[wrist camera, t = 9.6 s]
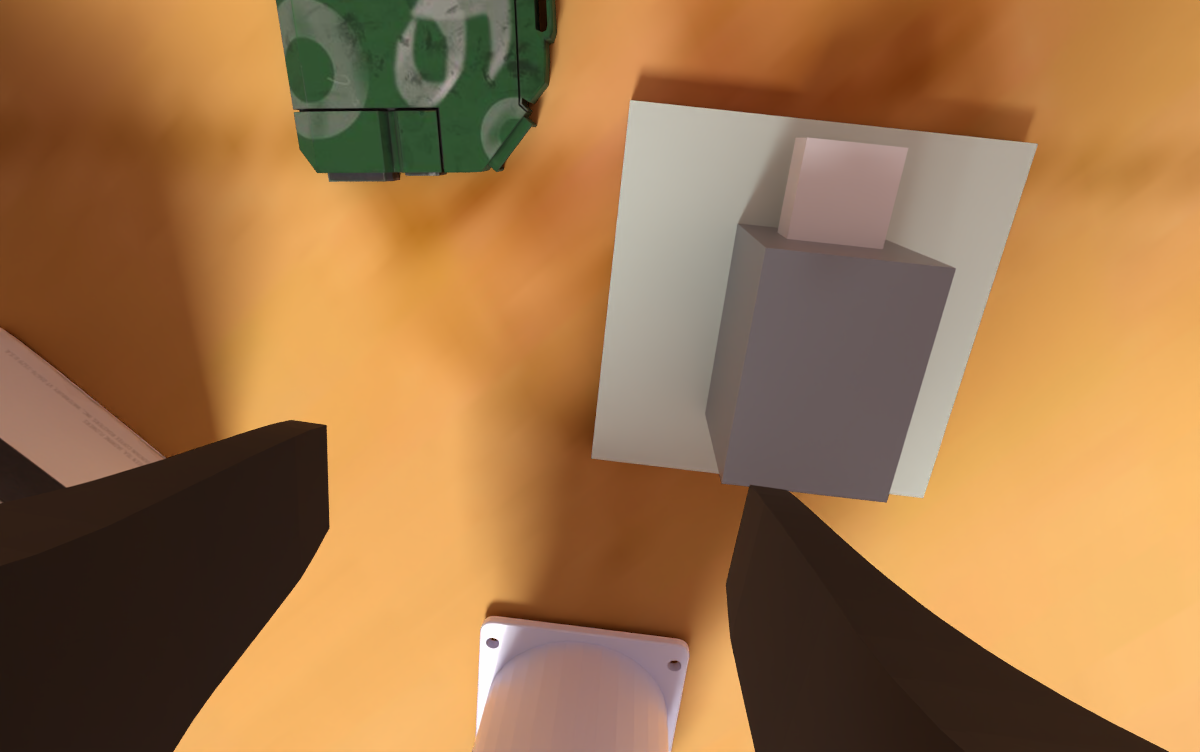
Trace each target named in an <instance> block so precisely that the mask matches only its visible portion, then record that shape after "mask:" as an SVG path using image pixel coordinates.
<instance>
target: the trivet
mask: <svg viewBox="0 0 1200 752" xmlns="http://www.w3.org/2000/svg"><path fill="white" fill-rule="evenodd" d="M800 137H808V138H818V139H828V140H837V141H847V142H857V143H866V144H876V145H885V146H895V147H905V148H908V152H907V156H906V160H905V164H904V168H903V172H902V176H901V180H900V183H899V187H898V191H897V195H896V199H895V203H894V207H893V211H892V215H891V219H890V223H889V227H888V231H887V235H886V239H885V240H888V241H890V242H893V243H895V244H898V245H900V246H903V247H905V248H907V249H910V250H912V251H915V252H917V253H920V254H922V255H925V256H927V257H930V258H932V259H935V260H937V261H940V262H942V263H945V264H947V265H949V266H952V267H954V268H956V270H955V274H954V277H953V281H952V284H951V287H950V291H949V294H948V297H947V301H946V304H945V307H944V311H943V314H942V318H941V321H940V324H939V328H938V331H937V334H936V338H935V341H934V345H933V348H932V351H931V355H930V358H929V361H928V365H927V368H926V372H925V375H924V378H923V382H922V385H921V388H920V392H919V395H918V398H917V402H916V405H915V409H914V412H913V415H912V419H911V422H910V425H909V429H908V432H907V436H906V439H905V442H904V446H903V449H902V452H901V456H900V459H899V463H898V466H897V469H896V473H895V476H894V479H893V483H892V486H891V489H890V493H889V494H894V495H902V496H911V497H919V498H923V497H924V494H925V491H926V488H927V485H928V482H929V479H930V476H931V473H932V470H933V466H934V463H935V460H936V457H937V454H938V451H939V448H940V445H941V442H942V439H943V436H944V432H945V429H946V426H947V423H948V420H949V417H950V414H951V411H952V408H953V405H954V402H955V398H956V395H957V392H958V389H959V386H960V383H961V380H962V377H963V374H964V371H965V368H966V365H967V361H968V358H969V355H970V352H971V349H972V346H973V343H974V340H975V337H976V334H977V331H978V327H979V324H980V321H981V318H982V315H983V312H984V309H985V306H986V303H987V300H988V297H989V293H990V290H991V287H992V284H993V281H994V278H995V275H996V272H997V269H998V266H999V263H1000V260H1001V256H1002V253H1003V250H1004V247H1005V244H1006V241H1007V238H1008V235H1009V232H1010V229H1011V226H1012V222H1013V219H1014V216H1015V213H1016V210H1017V207H1018V204H1019V201H1020V198H1021V195H1022V192H1023V188H1024V185H1025V182H1026V179H1027V176H1028V173H1029V170H1030V167H1031V164H1032V161H1033V158H1034V154H1035V151H1036V148H1037V145H1038V144H1035V143H1026V142H1017V141H1007V140H998V139H989V138H979V137H970V136H961V135H951V134H942V133H933V132H923V131H914V130H905V129H895V128H886V127H877V126H867V125H858V124H849V123H839V122H830V121H821V120H811V119H802V118H793V117H783V116H774V115H765V114H755V113H746V112H737V111H727V110H718V109H709V108H699V107H690V106H681V105H671V104H662V103H653V102H643V101H634V100H630V106H629V115H628V125H627V134H626V143H625V152H624V161H623V171H622V180H621V189H620V198H619V207H618V217H617V226H616V235H615V244H614V254H613V263H612V272H611V281H610V290H609V300H608V309H607V318H606V327H605V336H604V346H603V355H602V364H601V373H600V383H599V392H598V401H597V410H596V419H595V429H594V438H593V447H592V456H591V459H599V460H608V461H616V462H625V463H633V464H641V465H650V466H658V467H667V468H675V469H684V470H692V471H700V472H709V473H717V474H719V471H718V467H717V462H716V458H715V454H714V450H713V446H712V441H711V437H710V433H709V429H708V424H707V420H706V416H705V411H706V405H707V399H708V394H709V388H710V382H711V376H712V370H713V364H714V358H715V353H716V347H717V341H718V335H719V329H720V323H721V317H722V311H723V306H724V300H725V294H726V288H727V282H728V276H729V270H730V265H731V259H732V253H733V247H734V241H735V235H736V229H737V224H747V225H757V226H766V227H775V228H778V226H779V221H780V216H781V211H782V206H783V201H784V195H785V190H786V185H787V180H788V175H789V169H790V164H791V159H792V154H793V149H794V144H795V138H800Z"/></svg>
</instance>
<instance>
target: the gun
mask: <svg viewBox="0 0 1200 752" xmlns="http://www.w3.org/2000/svg"><path fill="white" fill-rule="evenodd" d="M276 4H277V10H278V17H279V23H280V29H281V35H282V42H283V48H284V54H285V60H286V67H287V73H288V79H289V85H290V92H291V98H292V104H293V109H294V110H299V111H300V112H294V117H295V123H296V129H297V136H298V142H299V148H300V150H301V152H302V153H303V154H304V156H305V157H306V158H307V160H308V161H309V162H310V164H311V165H312V166H313V168H314V169H315V170H316V172H317V173H328V178H329V182H337V181H395V180H400V178H399V172H402V173H405V175H408V176H439V175H445V174H446V172H482V171H487V170H490V168H491V167H492V168H493V169H494V170H495V171H496V172H499V171H503V170H504V168H503V167H501V166H502V165H503V164H504V162H505V161H506V160H507V158H508V157H509V156H510V154H511V153H512V152H513V150H514V149H515V148H516V146H517V145H518V144H519V142H520V141H521V140H522V138H523V137H524V136H525V134H526V133H527V132H528V130H529V129H530V128H531V127H536V126H537V125H536V124H535V123H534V122H533V121H532V120H531V119H530V118H528V117H529V116H530V115H531V112H532V110H531V109H530V108H529V107H528V106H527V101H528V102H530V103H533V104H535V103H536V101H537V100H538V99H539V97H540V96H541V95H542V94H543V92H544V91H545V90H546V88H547V87H548V86H549V71H550V51H549V44H551V43H554V41H555V38H556V33H557V26H556V5H555V0H546V9H547V29H546V30H545V31H544V32H541V31H540V25H539V5H538V0H276Z"/></svg>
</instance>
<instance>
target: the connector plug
mask: <svg viewBox="0 0 1200 752" xmlns="http://www.w3.org/2000/svg"><path fill="white" fill-rule="evenodd" d="M907 152H908V148H905V147H895V146H885V145H876V144H866V143H857V142H847V141H837V140H828V139H818V138H808V137H800V138H795V144H794V149H793V154H792V159H791V164H790V169H789V175H788V180H787V185H786V190H785V195H784V201H783V206H782V211H781V216H780V221H779V226H778V228H775V227H766V226H757V225H747V224H737V229H736V235H735V241H734V247H733V253H732V259H731V265H730V270H729V276H728V282H727V288H726V294H725V300H724V306H723V311H722V317H721V323H720V329H719V335H718V341H717V347H716V353H715V358H714V364H713V370H712V376H711V382H710V388H709V394H708V399H707V405H706V411H705V416H706V420H707V424H708V429H709V433H710V437H711V441H712V446H713V450H714V454H715V458H716V462H717V467H718V471H719V475H720V479H721V483H722V484H731V485H739V486H748V487H749V486H750V485H756V486H763V487H770V488H777V489H784V490H787V491H791V492H800V493H809V494H817V495H826V496H834V497H843V498H852V499H860V500H869V501H878V502H886V503H887V500H888V496H889V493H890V489H891V486H892V483H893V479H894V476H895V473H896V469H897V466H898V463H899V459H900V456H901V452H902V449H903V446H904V442H905V439H906V436H907V432H908V429H909V425H910V422H911V419H912V415H913V412H914V409H915V405H916V402H917V398H918V395H919V392H920V388H921V385H922V382H923V378H924V375H925V372H926V368H927V365H928V361H929V358H930V355H931V351H932V348H933V345H934V341H935V338H936V334H937V331H938V328H939V324H940V321H941V318H942V314H943V311H944V307H945V304H946V301H947V297H948V294H949V291H950V287H951V284H952V281H953V277H954V274H955V270H956V268H954V267H952V266H949V265H947V264H945V263H942V262H940V261H937V260H935V259H932V258H930V257H927V256H925V255H922V254H920V253H917V252H915V251H912V250H910V249H907V248H905V247H903V246H900V245H898V244H895V243H893V242H890V241H888V240H885V239H886V235H887V231H888V227H889V223H890V219H891V215H892V211H893V207H894V203H895V199H896V195H897V191H898V187H899V183H900V180H901V176H902V172H903V168H904V164H905V160H906V156H907Z"/></svg>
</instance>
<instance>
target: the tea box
mask: <svg viewBox="0 0 1200 752" xmlns="http://www.w3.org/2000/svg"><path fill="white" fill-rule="evenodd" d="M163 459H166V458H165V457H164V456H163V455H162V454H160V453H159V452H158V451H157V450H155V449H154V448H153V447H152V446H151V445H149V444H148V443H147V442H146V441H145V440H143V439H142V438H141V437H140V436H138V435H137V434H136V433H135V432H133V431H132V430H131V429H130V428H129V427H127V426H126V425H125V424H124V423H122V422H121V421H120V420H119V419H117V418H116V417H115V416H114V415H113V414H111V413H110V412H109V411H108V410H106V409H105V408H104V407H103V406H101V405H100V404H99V403H98V402H96V401H95V400H94V399H93V398H91V397H90V396H89V395H88V394H86V393H85V392H84V391H83V390H82V389H81V388H79V387H78V386H77V385H75V384H74V383H73V382H71V381H70V380H69V379H68V378H67V377H65V376H64V375H63V374H62V373H61V372H59V371H58V370H57V369H56V368H54V367H53V366H52V365H50V364H49V363H48V362H47V361H45V360H44V359H43V358H41V357H40V356H39V355H37V354H36V353H35V352H34V351H32V350H31V349H30V348H29V347H27V346H26V345H25V344H23V343H22V342H21V341H20V340H18V339H17V338H15V337H14V336H12V335H11V334H9V333H8V332H7V331H5V330H4V329H2V328H1V327H0V503H4V502H8V501H13V500H17V499H21V498H26V497H30V496H34V495H39V494H43V493H47V492H51V491H55V490H59V489H63V488H67V487H71V486H75V485H78V484H82V483H86V482H89V481H93V480H97V479H100V478H103V477H107V476H110V475H113V474H116V473H120V472H123V471H126V470H130V469H133V468H136V467H140V466H143V465H146V464H150V463H153V462H156V461H159V460H163Z"/></svg>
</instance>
